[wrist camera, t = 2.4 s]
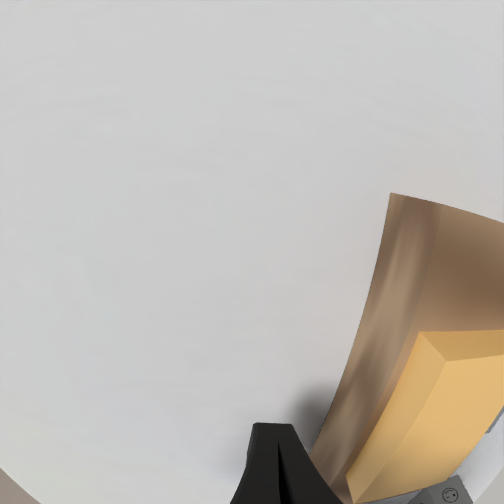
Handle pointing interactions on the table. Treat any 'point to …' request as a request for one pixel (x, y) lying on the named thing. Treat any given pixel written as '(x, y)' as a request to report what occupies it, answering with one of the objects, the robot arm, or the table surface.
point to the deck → (410, 316)
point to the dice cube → (444, 493)
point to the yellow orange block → (432, 414)
